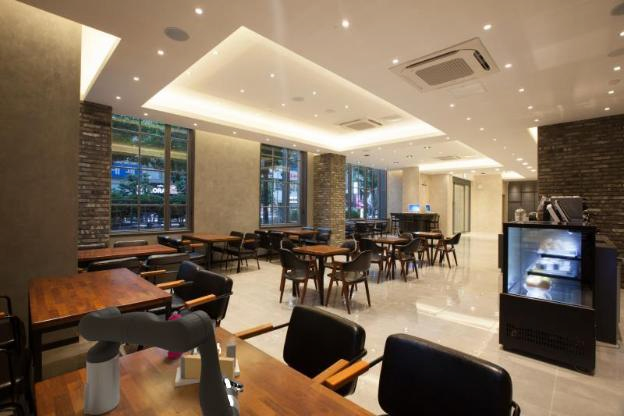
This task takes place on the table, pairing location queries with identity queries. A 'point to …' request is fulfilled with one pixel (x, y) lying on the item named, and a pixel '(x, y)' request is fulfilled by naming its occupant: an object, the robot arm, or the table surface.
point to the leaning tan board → (192, 366)
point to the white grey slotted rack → (184, 381)
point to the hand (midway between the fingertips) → (223, 376)
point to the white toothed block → (199, 352)
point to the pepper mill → (170, 354)
